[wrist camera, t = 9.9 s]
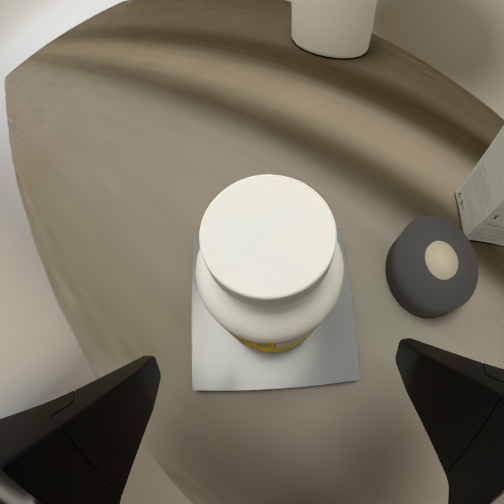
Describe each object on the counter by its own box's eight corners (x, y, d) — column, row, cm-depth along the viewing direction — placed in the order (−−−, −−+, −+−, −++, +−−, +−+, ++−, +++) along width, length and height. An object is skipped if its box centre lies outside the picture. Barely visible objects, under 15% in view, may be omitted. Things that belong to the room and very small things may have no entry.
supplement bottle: (211, 291, 23) (146, 199, 11) (288, 252, 23) (297, 130, 12) (252, 371, 20) (221, 368, 8) (333, 326, 21) (402, 264, 9)
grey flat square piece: (355, 379, 20) (360, 379, 19) (196, 389, 21) (192, 390, 20) (338, 235, 25) (340, 228, 24) (197, 244, 26) (193, 238, 25)
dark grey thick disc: (471, 265, 23) (489, 252, 20) (438, 336, 21) (458, 329, 18) (409, 216, 25) (422, 197, 22) (368, 281, 23) (381, 267, 20)
